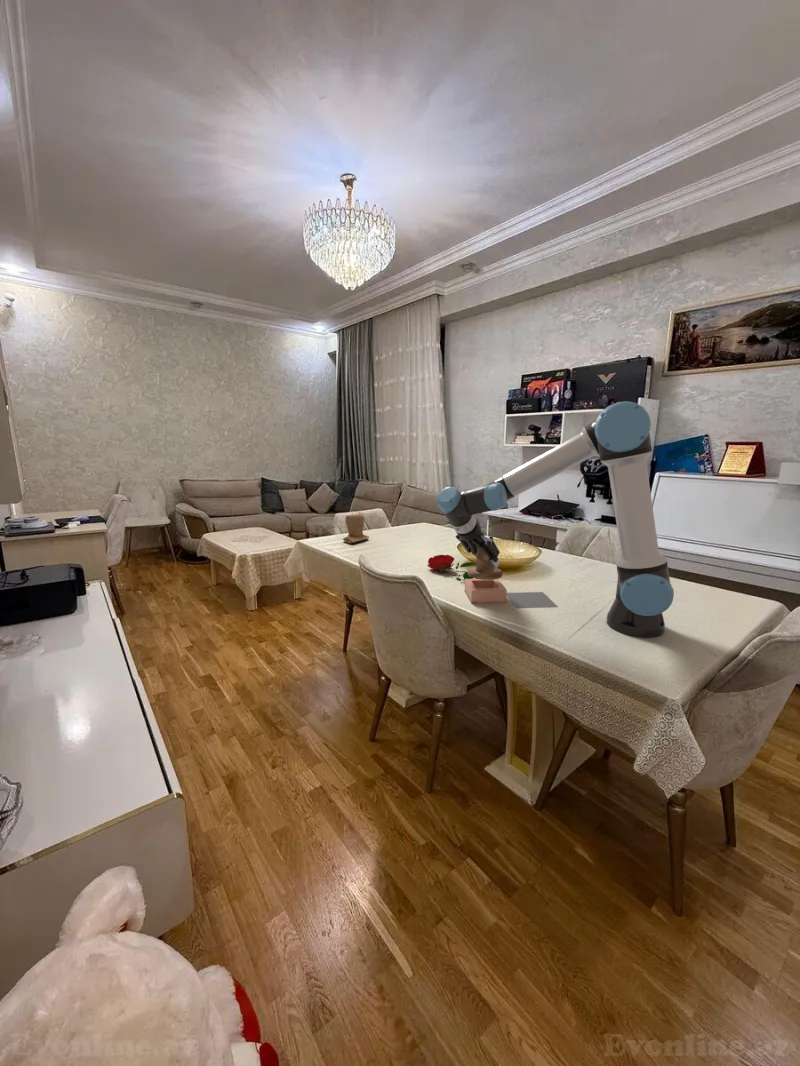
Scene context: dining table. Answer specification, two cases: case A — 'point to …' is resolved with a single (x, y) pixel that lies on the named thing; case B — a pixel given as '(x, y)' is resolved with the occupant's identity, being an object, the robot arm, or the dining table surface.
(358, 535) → the wooden stamp
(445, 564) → the flower
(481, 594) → the dish
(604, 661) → the dining table surface
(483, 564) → the lid
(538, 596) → the mat
